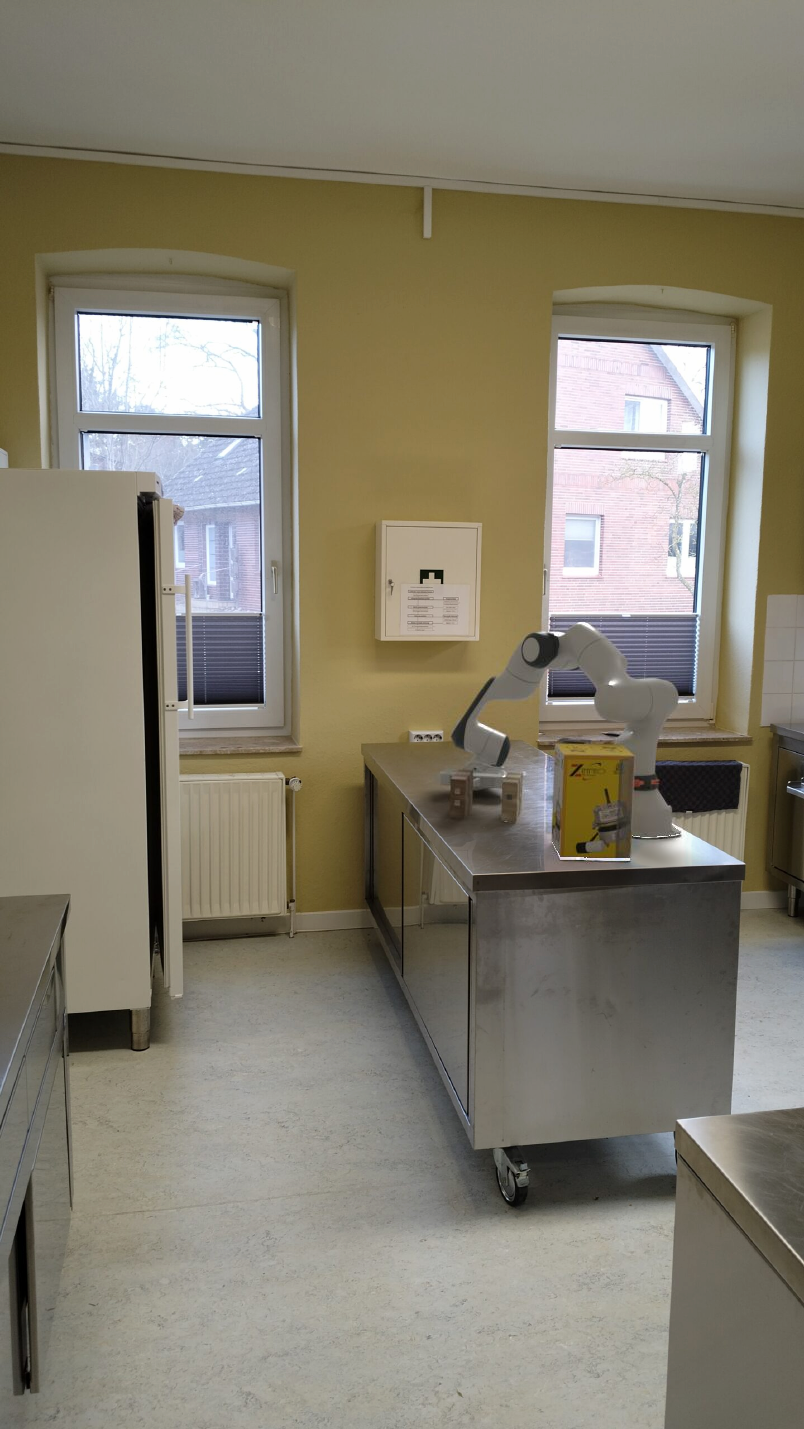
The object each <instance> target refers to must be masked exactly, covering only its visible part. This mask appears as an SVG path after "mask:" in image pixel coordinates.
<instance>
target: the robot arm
mask: <svg viewBox="0 0 804 1429" xmlns="http://www.w3.org/2000/svg"><path fill="white" fill-rule="evenodd" d="M547 670H549V671H556V672H557V671H577V670H581V671H582V672H583V674H584V675H585V676H586V677H587V679H589V680H590V682H591V683H592V685H594V687H595V689H596V690H595V691H596V692H595V694H594V698H593V702H594V709H595V711H596V713H597V715H598V716H599V717H601V719H603V720H605V721H609V722H616V723H626V726H625V727H624V729H623V731H622V733H620V735H619V736H618V737H616V739H615V740H614V743H613V745H623V746H624V747H625V748H626V749H627V750H628V751H630V752H631V753H632V754H633V755H634V756H635V774H634V795H633V816H632V835H633V836H640V837H657V836H669V835H670V836H671V835H676V834H680V833H681V834H682V831H681V830H680V829H679V828H677V827H676V826H674V825H673V816H672V813H673V807H672V806H671V805H668V803H667V802H666V800H665V799H664V797H663V796H662V793H660V791H659V789H658V788H659V784H660V783H659V782H660V781H661V780H660V779H658V776H657V773H656V760H657V759H656V757H657V747H658V743H659V740H660V736H661V733H662V731H663V727H664V726H665V723H666V722H667V720H668V718H669V717H670V716H671V715H672V714H673V713H674V711H675V710H676V709H677V707H678V705H679V692H678V689H677V688H676V686H675V685H674V684H673V683H672V682H671V681H669V680H666V679H663V678H662V679H661V678H658V677H657V678H655V677H646V678H634V677H631V676H630V675H629V674H628V672H627V670H628V659H627V658H626V656H625V655H624V654H623V653H622V652H621V651H620V649H618V648H617V646H616V645H615V644H614V643H613V642H612V641H611V640H610V639H608V637H607V636H606V635H605V634H604V633H603V632H601V631H600V630H598V629H597V628H596V627H595V626H593V625H591V624H590V623H587V622H582V621H581V622H577V623H575V624H573V625H571V626H570V627H569V628H568V629H566V631H565V632H561V631H544V630H543V631H540V630H539V631H534V632H531V633H529V634H527V635H526V637H525V638H524V639H523V640H521V641H520V643H519V644H518V645H517V647H516V648H515V650H514V651H513V653H512V655H511V656H510V658H509V660H508V662H507V664H506V666H505V669H504V670H503V671H502V672H501V673H500V674H499V675H497V676H495V675H494V676H491V677H490V678H489V679H487V681H486V682H485V683H484V685H483V687H481V689H480V690H479V692H478V693H477V695H476V697H474V699H473V701H472V702H471V704H470V706H469V707H468V709H467V710H466V712H465V713H464V715H463V716H462V717H460V719H459V720H458V721H457V722H456V724H455V725H454V726H453V727H452V730H451V736H450V738H451V740H452V741H451V742H452V743H453V745H454V746H455V748H458V749H459V750H463V751H467V752H469V753H471V754H473V755H475V756H474V757H472V758H471V759H470V760H469V761H468V762H467V763H466V765H465V766H464V767H463V768H462V770H473V791H482V790H488V789H502V782H503V780H504V779H505V777H506V775H507V774H508V772H507V770H506V768H505V766H503V765H504V763H505V762H506V760H507V758H508V757H509V753H510V750H511V746H512V745H511V741H510V738H509V735H507V734H505V733H503V732H502V731H499V730H497V729H495V728H493V727H490V726H488V725H485V724H484V723H482V722H480V721H479V720H478V717H479V716H480V714H481V713H482V711H483V710H484V709H485V707H486V706H487V704H488V703H490V702H492V701H508V702H520V701H524V700H527V699H529V698H531V697H532V696H534V694H535V692H536V691H537V689H538V687H539V685H540V683H541V681H542V679H543V677H544V674H545V672H546V671H547ZM458 770H459V769H444V770H442V771H440V772H438V784H439V785H441V786H451V778H452V777H453V776H454V775H455V773H456V772H457V771H458ZM675 827H676V828H677V829H676V828H675ZM678 829H679V830H680V831H679V830H678Z"/></svg>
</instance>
